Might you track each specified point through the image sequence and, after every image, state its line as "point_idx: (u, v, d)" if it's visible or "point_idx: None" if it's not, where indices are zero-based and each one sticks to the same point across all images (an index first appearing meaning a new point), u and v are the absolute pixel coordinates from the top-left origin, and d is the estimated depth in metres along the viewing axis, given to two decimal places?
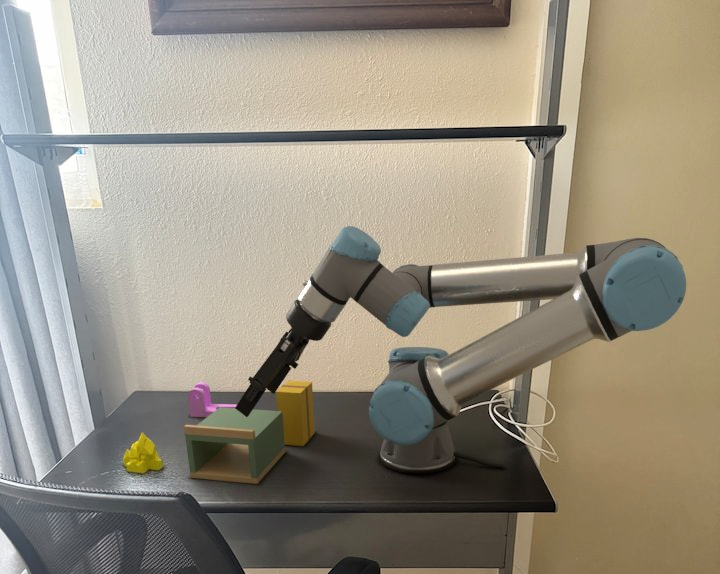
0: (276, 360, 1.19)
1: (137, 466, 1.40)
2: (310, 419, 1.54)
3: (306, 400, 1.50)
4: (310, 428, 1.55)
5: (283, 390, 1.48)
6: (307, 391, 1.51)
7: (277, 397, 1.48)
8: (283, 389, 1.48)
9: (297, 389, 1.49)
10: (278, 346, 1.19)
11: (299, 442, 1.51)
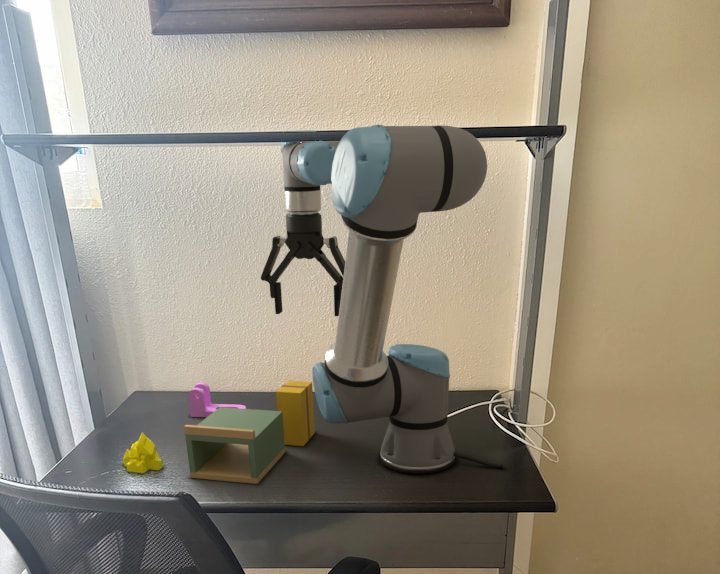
0: None
1: (137, 466, 1.40)
2: (310, 419, 1.54)
3: (306, 400, 1.50)
4: (310, 428, 1.55)
5: (283, 390, 1.48)
6: (307, 391, 1.51)
7: (277, 397, 1.48)
8: (283, 389, 1.48)
9: (297, 389, 1.49)
10: None
11: (299, 442, 1.51)
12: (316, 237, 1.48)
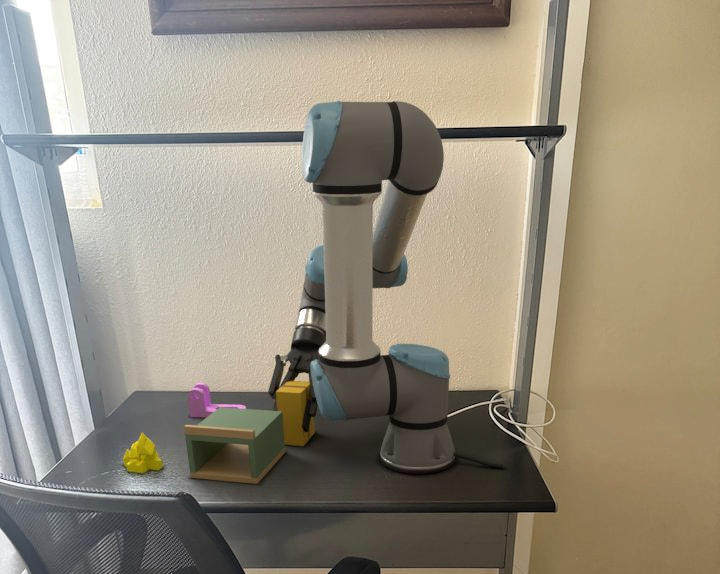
0: None
1: (137, 466, 1.40)
2: None
3: (306, 400, 1.50)
4: (310, 428, 1.55)
5: (283, 390, 1.48)
6: (307, 391, 1.51)
7: (277, 397, 1.48)
8: (283, 389, 1.48)
9: (297, 389, 1.49)
10: None
11: (299, 442, 1.51)
12: (318, 352, 1.55)
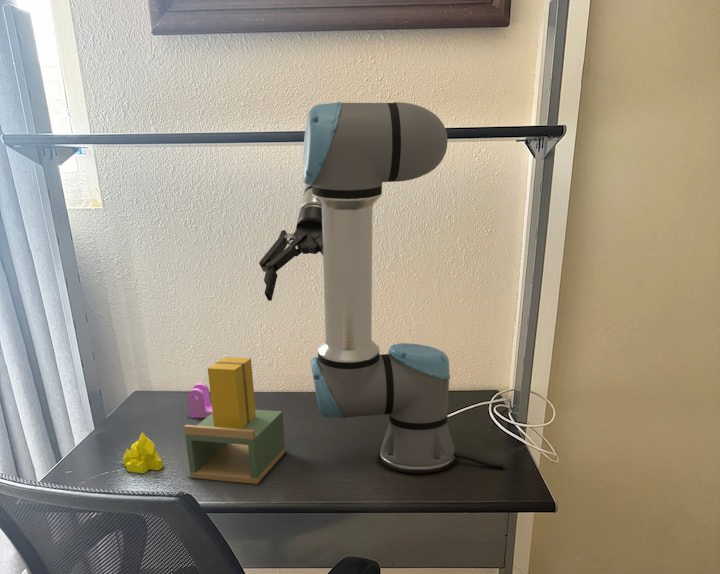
0: None
1: (137, 466, 1.40)
2: (249, 400, 1.38)
3: (243, 378, 1.34)
4: (250, 410, 1.39)
5: (216, 367, 1.31)
6: (244, 368, 1.34)
7: (209, 375, 1.32)
8: (217, 366, 1.32)
9: (232, 365, 1.32)
10: None
11: (235, 425, 1.35)
12: None
